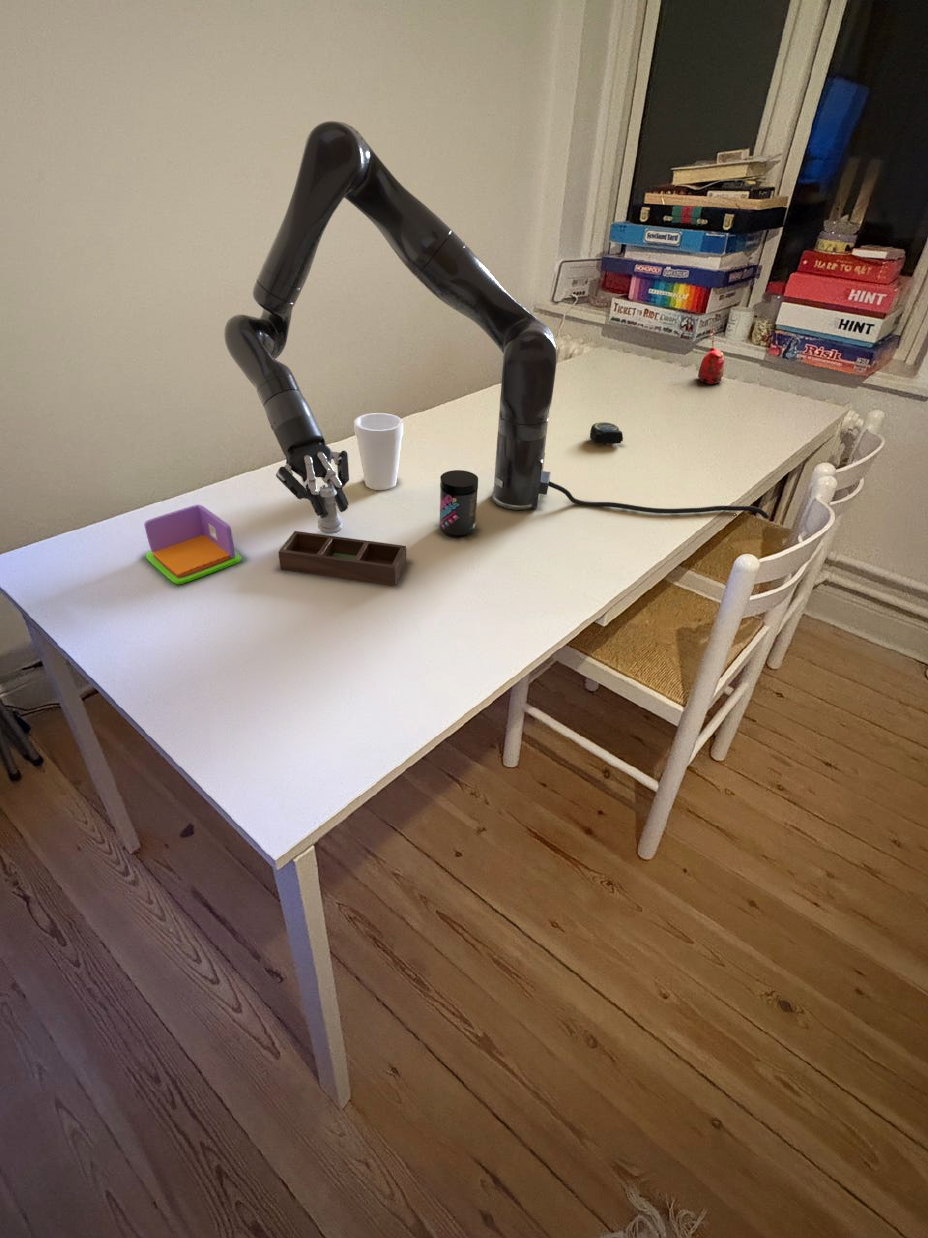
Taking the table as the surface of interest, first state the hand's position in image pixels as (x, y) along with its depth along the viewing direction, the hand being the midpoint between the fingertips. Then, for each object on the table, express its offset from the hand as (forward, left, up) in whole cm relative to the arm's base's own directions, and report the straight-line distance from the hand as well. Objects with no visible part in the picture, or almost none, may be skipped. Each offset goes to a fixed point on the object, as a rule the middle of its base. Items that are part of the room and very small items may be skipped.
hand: (334, 512), depth 121 cm
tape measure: (-46, -58, -5) cm, 75 cm away
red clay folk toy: (-75, -115, -5) cm, 138 cm away
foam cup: (-1, -23, -5) cm, 24 cm away
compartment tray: (-4, +9, -5) cm, 11 cm away
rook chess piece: (+2, -1, -4) cm, 5 cm away
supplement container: (-20, -8, -5) cm, 23 cm away
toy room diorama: (+21, +13, -5) cm, 25 cm away
